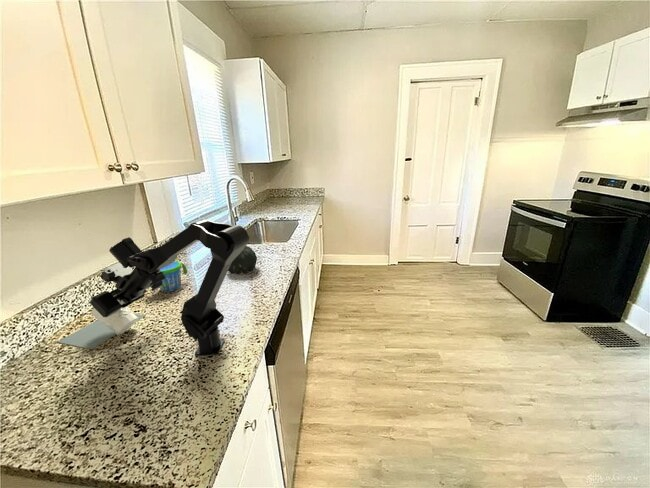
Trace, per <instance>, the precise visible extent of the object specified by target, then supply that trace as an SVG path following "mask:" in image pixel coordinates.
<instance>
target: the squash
mask: <svg viewBox="0 0 650 488" xmlns="http://www.w3.org/2000/svg"><path fill="white" fill-rule="evenodd" d="M257 261H258V257H257V253H256V252H255V251H254V250H253V249H252V247H250V246H249V245H246V246H245V248H244V249H243V250H242V252H241V253H240V254H239V255H238V256H237V257H236V258H235V259H234V260H233V261H232V263H231V265H230V267H229V270H228V272H227V273H230V274H235V275H241V274H248V273H249V272H252V271H254V270H255V267H256V265H257Z"/></svg>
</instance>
